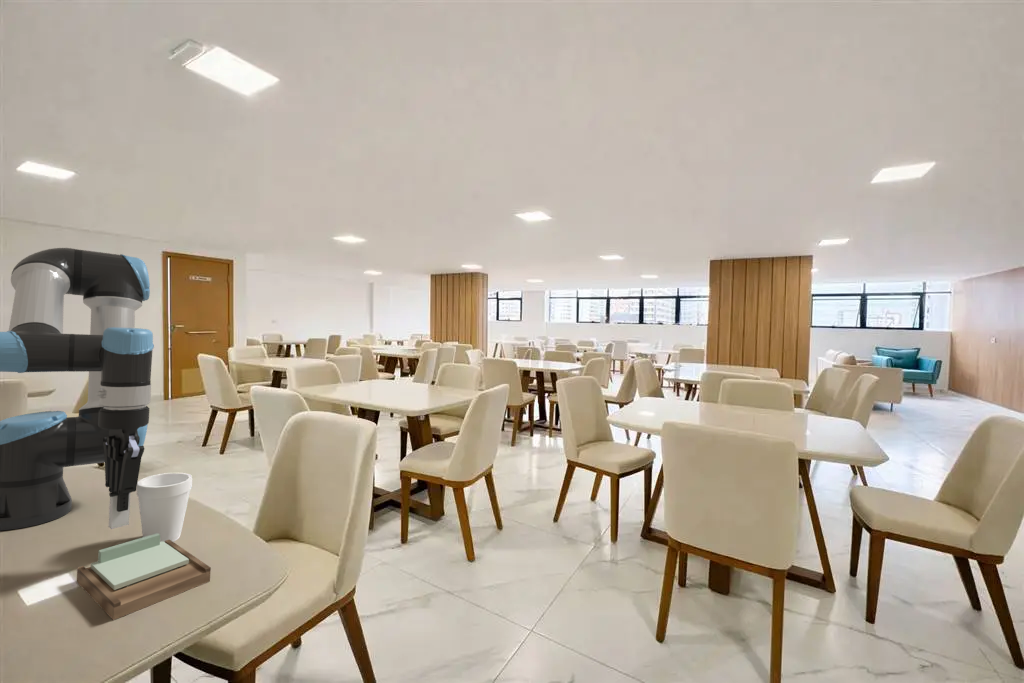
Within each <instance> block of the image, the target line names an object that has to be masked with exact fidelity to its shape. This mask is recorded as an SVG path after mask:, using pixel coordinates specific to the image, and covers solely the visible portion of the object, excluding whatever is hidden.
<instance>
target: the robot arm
mask: <svg viewBox="0 0 1024 683" xmlns="http://www.w3.org/2000/svg"><path fill="white" fill-rule="evenodd" d="M10 274H11V275H10V284H11V287H13V289H14V290H15V292H14V296H13V297H14V298H13V303H12V304H13V305H12V310H11V316H10V320H9V328H8V330H7V331H0V372H2V373H3V372H6V373H17V374H23V373H47V372H48V373H49V372H50V373H51V372H52V373H55V372H57V373H58V372H61V373H62V372H74V373H75V372H76V373H77V372H88V386H87V389H88V390H87V402H86V403H85V404H83V405H82V406H81V407H80V408H78V416H71V417H69V416H68V415H67V413H66V412H65V411H63V410H53V411H51V410H48V411H38V412H31V413H26V414H20V415H16V416H14V415H13V416H10V417H7V418H4V419H2V420H0V531H8V530H9V531H10V530H17V529H23V528H28V527H33V526H37V525H41V524H45V523H49V522H51V521H54V520H57V519H59V518H61V517H64V516H65V515H67V514H69V513H70V512H71V511H72V507H73V504H72V503H73V502H72V501H73V499H72V496H71V494H70V491H69V489H68V487H67V484H66V483H65V480H64V468H67V467H77V466H79V467H80V466H85V465H94V464H102V463H104V476H105V478H104V479H105V484H104V485H105V487H106V488H108V492H109V493H108V494H109V507H108V508H109V511H108V526H107V527H108V528H109V529H111V530H112V529H117V528H120V527H124V526H129V524H130V513H131V512H130V507H131V493H134V492H137V482H138V481H139V474H140V469H141V463H142V457H143V454H144V452H145V446H144V444H145V440H146V435H147V431H148V425H149V422H150V407H149V406H148V405H149V404H150V403H151V395H152V393H151V392H152V383H151V381H152V380H151V377H152V365H153V364H152V361H153V352H154V351H153V349H154V348H155V345H154V336H153V335H154V334H153V331H152V330H150V329H147V328H141V327H140V328H136V327H135V323H136V322H135V320H136V318H135V317H136V316H135V315H136V314H135V312H136V311H137V310H139V309H140V308H141V307H142V306H143V302H145V301H148V300H149V299H150V296H151V295H150V294H151V292H150V285H151V284H150V276H149V271H148V266H147V265H146V263H145V262H144V260H143V259H141V258H139V257H137V256H136V257H135V256H129V255H124V254H123V253H122V254H121V253H120V254H118V253H117V254H116V253H115V254H114V253H109V252H108V253H107V252H101V251H92V250H85V249H78V248H77V249H76V248H71V247H57V248H56V247H54V248H48V249H43V250H40V251H38V252H34V253H31V254H29V255H28V256H26V257H24V258H23V259H21V260H20V261H19V262H17V264H16V265H15V266H14V268H13V270H12V271H11V273H10ZM65 295H74V296H83V297H82V303H83V304H84V305H86V306H87V307H88V308H89V309H90V326H89V327H90V330H89V331H90V332H89V334H83V333H82V334H76V333H64V305H65Z"/></svg>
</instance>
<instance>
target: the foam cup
mask: <svg viewBox="0 0 1024 683" xmlns="http://www.w3.org/2000/svg"><path fill="white" fill-rule="evenodd" d="M192 488H193V476H192V474H190V473H187V472H165V473H164V472H163V473H158V474H154V475H153V474H152V475H148V476H146V477H144V478H140V479H139V480H138V482H137V488H136V495H137V497H138V498H137V499H138V506H139V515H140V524H141V526H140V527H141V534H142V538H143V537H146V536H150V535H153V534H156V533H158V534H160V542H162V541H163V542H165V541H166V540H169V539H170V540H171V541H172V542H174V543H175V541H177V540H178V539H179V538H180V537H181V534H182V531H183V526H184V521H185V516H186V512H187V508H188V503H189V498H190V494H191V489H192Z"/></svg>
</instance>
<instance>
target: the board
mask: <svg viewBox="0 0 1024 683" xmlns="http://www.w3.org/2000/svg"><path fill="white" fill-rule="evenodd" d="M165 543H166V544H168V545H169V546H171V547H172V548H174V549H175V550H176V551H178V552H179V553H181V554H182V555H184V556H185V557H186V558H188V559H189V563H188V564H186V565H183V566H180V567H177V568H174V569H172V570H169V571H166V572H163V573H160V574H158V575H155V576H152V577H149V578H147V579H144V580H141V581H138V582H135V583H133V584H130V585H127V586H124V587H121V588H119V589H116V590H113V589H112V588H111V587H110V586H109V585H108V584H107V583H106V582H105V581H104V580H103V579H102V578H101V577H100V576H99V575H98V574H97V573H95V572H94V571H93V570H92V569H91V568H90V567H91V566H89V567H85V565H82V566H79V567H77V570H76V583H77V585H79V586H80V587H81V588H82V589H83V590H84V591H85V592H86V594H88V595H89V597H90V598H91V599H93V601H94V602H97V603H98V604H99V605H100V606H99V605H98V604H97V603H96V604H97V605H98V606H99V607H100V608H101V609H102V610H103V611H104V612H105V613H106V614H107V615H108V616H109V617H110V618H111V619H112V620H113V621H114V620H117V619H120V618H123V617H125V616H127V615H130V614H132V613H135V612H137V611H140V610H142V609H145V608H147V607H150V606H152V605H154V604H158V603H159V602H161V601H164V600H167V599H169V598H171V597H174V596H176V595H179V594H182V593H184V592H187V591H190V590H192V589H194V588H197V587H200V586H201V585H204V584H206V583H209V582H211V572H212V571H211V569H212V568H211V567H210V566H209V565H208V564H206V563H205V562H204V561H202V560H200V559H199V558H197V557H196V556H195V555H193V554H191V553H190V552H189V551H187V550H185V549H184V548H183V547H181V546H180V545H178V544H177V543H175V541H174V542H172V541H171V540H170V539H169V540H166V541H165Z"/></svg>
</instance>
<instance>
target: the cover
mask: <svg viewBox="0 0 1024 683" xmlns="http://www.w3.org/2000/svg"><path fill="white" fill-rule="evenodd" d="M97 556H98V557H97V561H95V562H91V563H90V566H89V567H90V568H91V569H92V570H93V571H94V572H95V573H97V574H98V575H99V576H100V577H101V578H102V579H103V580H104V581H105V582H106V583H107V584H108V585H109V586H110V587H111V588H112V589H113V590H115V591H116V590H119V589H122V588H125V587H127V586H130V585H133V584H136V583H138V582H141V581H144V580H147V579H149V578H152V577H155V576H158V575H161V574H163V573H166V572H169V571H172V570H174V569H177V567H180V566H183V565H186V564H188V563H189V559H188V558H186V557H185V556H184V555H182V554H181V553H179V552H178V551H176V550H175V549H174V548H172V547H171V546H169V545H168V544H166V543H165V542H163V541H162V542H160V534H158V533H156V534H153V535H150V536H146V537H143V536H142V537H140V538H136V539H133V540H132V539H131V540H129V541H126V542H123V543H119V544H116V545H113V546H109V547H105V548H102V549H99V550H98V553H97Z"/></svg>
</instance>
